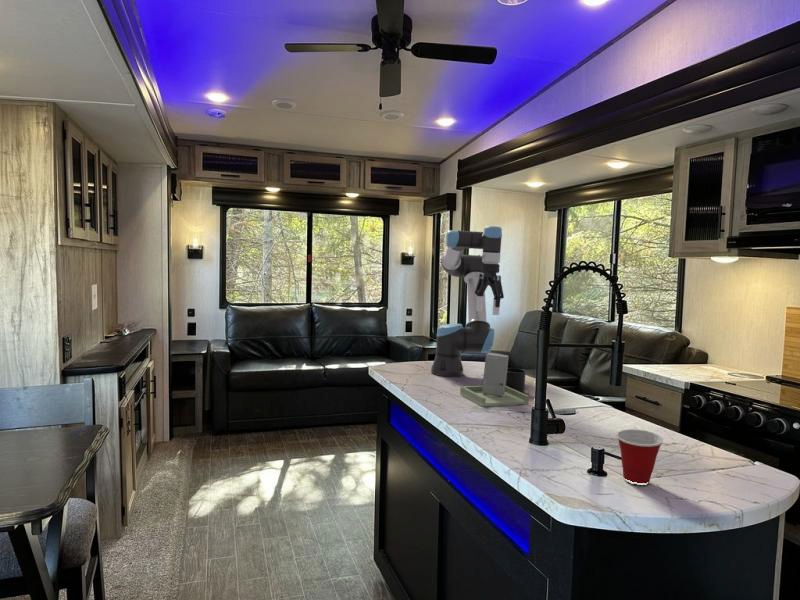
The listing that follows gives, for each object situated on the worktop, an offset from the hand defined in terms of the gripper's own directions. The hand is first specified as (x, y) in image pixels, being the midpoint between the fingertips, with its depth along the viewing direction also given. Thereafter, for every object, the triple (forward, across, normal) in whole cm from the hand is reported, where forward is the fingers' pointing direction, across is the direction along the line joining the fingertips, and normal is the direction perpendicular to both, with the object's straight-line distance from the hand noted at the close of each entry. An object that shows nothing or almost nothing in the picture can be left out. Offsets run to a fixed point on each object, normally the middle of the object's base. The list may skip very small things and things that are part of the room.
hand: (487, 313), depth 228 cm
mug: (+32, +10, +8) cm, 34 cm away
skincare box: (+30, +18, -5) cm, 36 cm away
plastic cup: (+31, +99, -12) cm, 105 cm away
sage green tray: (+31, +21, -7) cm, 38 cm away
